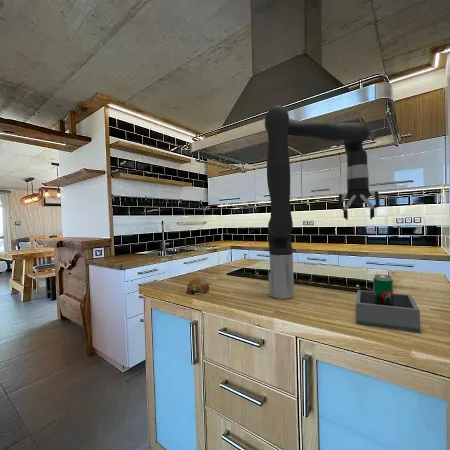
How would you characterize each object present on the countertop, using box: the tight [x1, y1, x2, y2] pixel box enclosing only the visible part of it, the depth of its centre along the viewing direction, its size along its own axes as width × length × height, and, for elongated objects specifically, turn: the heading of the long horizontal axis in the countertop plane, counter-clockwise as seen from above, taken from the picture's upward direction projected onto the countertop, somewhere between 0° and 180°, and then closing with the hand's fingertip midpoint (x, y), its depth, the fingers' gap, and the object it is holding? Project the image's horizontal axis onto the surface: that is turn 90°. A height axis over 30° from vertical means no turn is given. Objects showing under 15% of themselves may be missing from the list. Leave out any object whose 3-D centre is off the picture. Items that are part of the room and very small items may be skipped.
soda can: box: [372, 273, 394, 306], centre depth 78 cm, size 5×5×12 cm
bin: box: [355, 289, 421, 334], centre depth 78 cm, size 15×15×6 cm
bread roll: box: [186, 277, 210, 294], centre depth 116 cm, size 10×10×8 cm
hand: (358, 219), depth 100 cm, fingers open, 8 cm apart
